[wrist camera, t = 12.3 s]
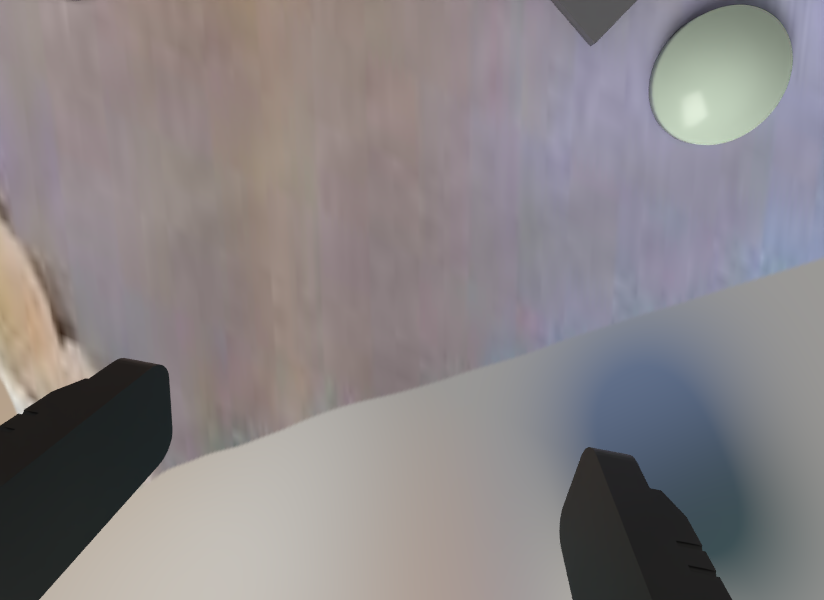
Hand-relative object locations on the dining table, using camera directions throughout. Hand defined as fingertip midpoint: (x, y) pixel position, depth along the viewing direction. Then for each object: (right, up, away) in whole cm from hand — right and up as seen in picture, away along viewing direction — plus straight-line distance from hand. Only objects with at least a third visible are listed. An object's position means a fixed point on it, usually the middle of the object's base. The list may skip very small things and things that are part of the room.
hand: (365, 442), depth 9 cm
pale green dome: (+21, +17, +21) cm, 34 cm away
